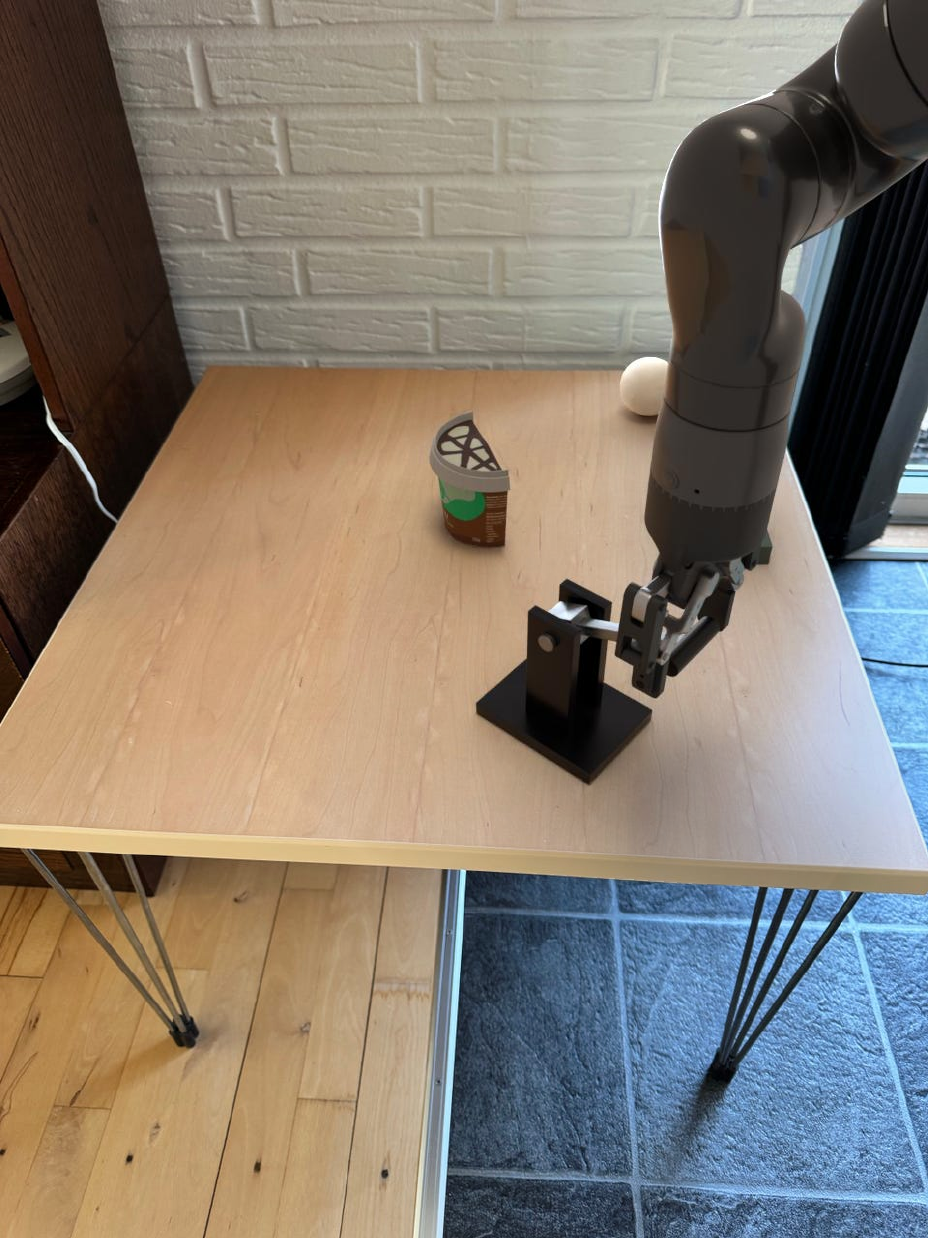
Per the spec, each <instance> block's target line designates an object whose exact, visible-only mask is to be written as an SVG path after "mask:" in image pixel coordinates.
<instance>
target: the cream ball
mask: <svg viewBox="0 0 928 1238" xmlns="http://www.w3.org/2000/svg"><path fill="white" fill-rule="evenodd" d="M667 368H668V361H666V360H665V359H663V358H659V357H655V356H645V357H641V358H638V359H636V360H634V361H633V362H631V363H630V364H629V365H628V366H627V367H626V368H625V369H624V371H623V373H622V375H621V378H620V382H619V392H620V393H619V394H620V397H621V400H622V402H623V403H624V405H625V406H626V407H627V409H628V410H629V411H631V412H633V413H634V414H637V415H640V416H646V417H647V416H648V417H649V416H650V417H651V416H658V415H659V412H660V409H661V405H662V401H663V397H664V392H665V384H666V376H667Z"/></svg>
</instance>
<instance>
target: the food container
mask: <svg viewBox="0 0 928 1238" xmlns="http://www.w3.org/2000/svg"><path fill="white" fill-rule="evenodd" d="M428 458H429V465H430V467H431V470H432V471H433V473H434V474H435V475H436V476H437V480H438V486H439V494H440V501H441V508H442V513H443V515H442V517H443V521H444V523H443V524H444V527H445V530H446V531H447V533H448V534H449V535H450V536H451V537H452V538H454V539H455V540H457V541H458V542H460V543H463V544H465V545H469V546H473V547H478V548H497V547H503V546H506V532H507V511H508V493H509V491H511V483H510V476H509V475H510V473H509V469H502V468H501V466H500V464H499V462H498V461H497V458H496V456H495V454H494V453H493V450H492V448H491V446H490V445H489V443H488V442H487V440H486V439H485V438H484V437H483V435H482V434H481V432H480V431H479V428H478V427H477V426H476V424H475V422H474V411H473V410H472V411H469V412H468V411H467V412H465V413H461V414H458V415H456V416H453V418H450V419H448V420H447V421H445V422H444V423H443V424H442V425H440V426H439V428H438V429H437V431H436V432H435V434H434V437H433V439H432V441H431V447H430V452H429V457H428Z"/></svg>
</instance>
